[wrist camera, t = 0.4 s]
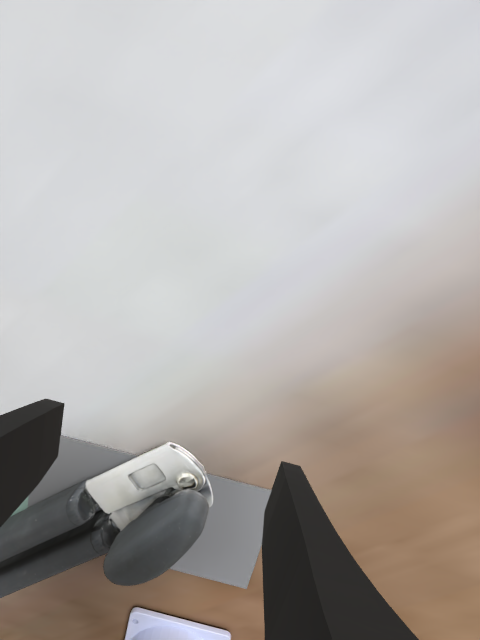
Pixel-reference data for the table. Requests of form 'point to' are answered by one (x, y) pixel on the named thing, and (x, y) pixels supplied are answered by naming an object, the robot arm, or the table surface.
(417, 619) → the table surface
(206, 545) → the mat
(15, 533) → the can opener
